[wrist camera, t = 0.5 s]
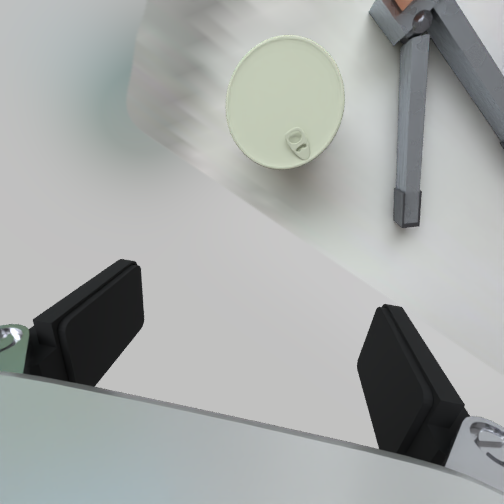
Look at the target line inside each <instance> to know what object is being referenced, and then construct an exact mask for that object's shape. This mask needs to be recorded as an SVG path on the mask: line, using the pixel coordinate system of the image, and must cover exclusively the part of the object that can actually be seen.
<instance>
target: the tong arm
mask: <svg viewBox="0 0 504 504" xmlns="http://www.w3.org/2000/svg"><path fill="white" fill-rule="evenodd" d="M429 39H430V34H426V35H422V36H418V37H414V38H412V39H410V40H409V41H408V42H407V43H406V44H404V45H403V46H402V47H401V55H400V86H399V118H398V149H397V181H396V188H394V221H395V222H396V223H397V224H398V225H399V226H400V227H401V228H407V227H416V226H419V223H420V208H421V193H422V191H420V178H421V162H422V147H423V131H424V116H425V101H426V85H427V70H428V54H429Z"/></svg>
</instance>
